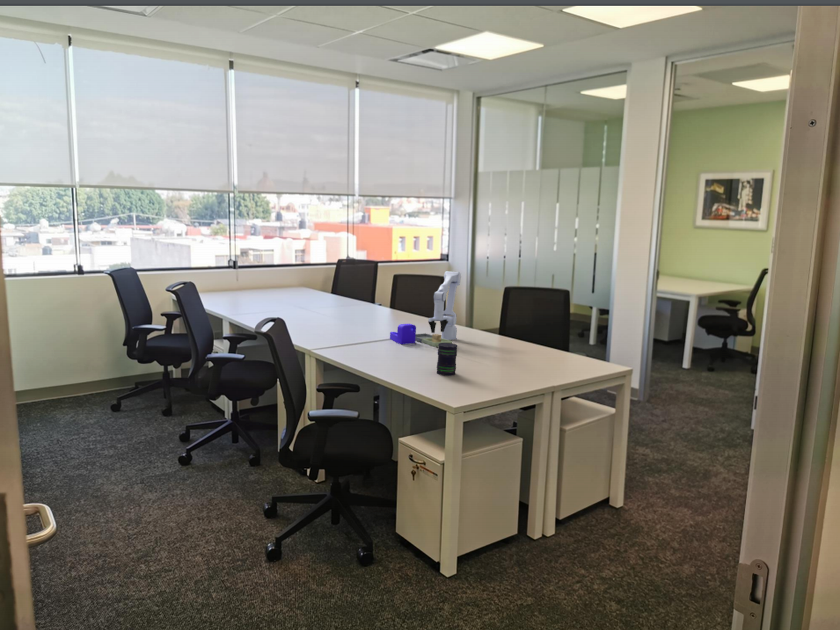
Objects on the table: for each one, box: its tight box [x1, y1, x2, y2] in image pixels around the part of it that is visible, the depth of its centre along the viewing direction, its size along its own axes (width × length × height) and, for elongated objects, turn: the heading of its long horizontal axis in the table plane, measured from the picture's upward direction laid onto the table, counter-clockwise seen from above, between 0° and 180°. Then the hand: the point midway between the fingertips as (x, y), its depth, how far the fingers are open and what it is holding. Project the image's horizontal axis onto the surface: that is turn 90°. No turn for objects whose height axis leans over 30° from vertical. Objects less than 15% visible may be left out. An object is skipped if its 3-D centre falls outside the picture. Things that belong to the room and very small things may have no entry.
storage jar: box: [436, 342, 458, 377], centre depth 318 cm, size 10×10×15 cm
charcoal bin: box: [415, 332, 432, 343], centre depth 402 cm, size 14×13×2 cm
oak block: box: [431, 333, 442, 343], centre depth 391 cm, size 4×4×5 cm
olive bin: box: [421, 338, 453, 348], centre depth 391 cm, size 14×13×2 cm
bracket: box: [389, 323, 417, 345], centre depth 393 cm, size 18×11×12 cm, turn 39°
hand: (437, 332), depth 390 cm, fingers open, 7 cm apart
